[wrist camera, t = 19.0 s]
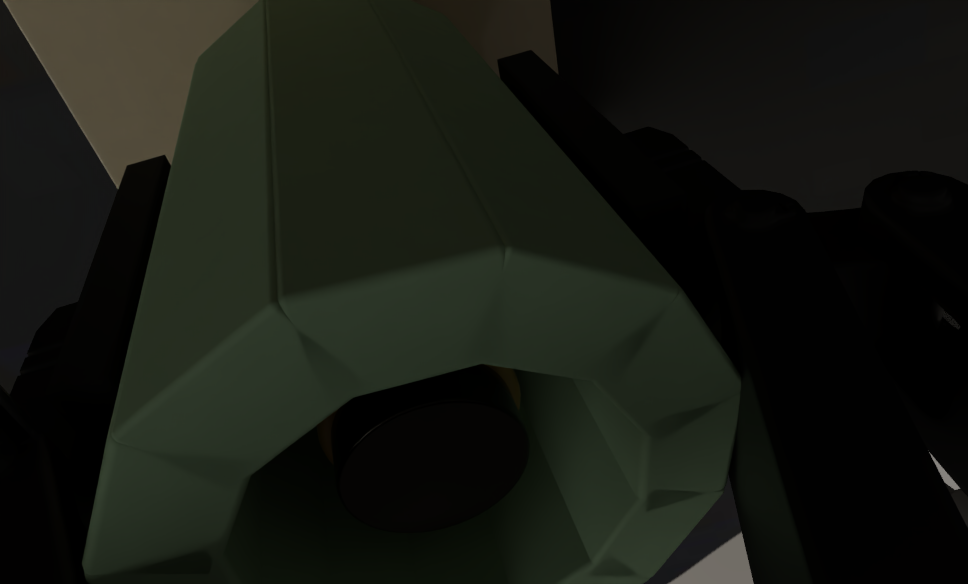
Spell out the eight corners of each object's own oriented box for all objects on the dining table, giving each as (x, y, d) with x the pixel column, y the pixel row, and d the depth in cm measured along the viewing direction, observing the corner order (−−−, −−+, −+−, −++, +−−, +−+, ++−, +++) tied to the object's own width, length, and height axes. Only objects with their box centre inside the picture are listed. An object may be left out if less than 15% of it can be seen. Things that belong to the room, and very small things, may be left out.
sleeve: (224, -77, 12) (162, 159, 4) (545, 54, 15) (859, 334, 7) (157, 242, 15) (49, 718, 7) (434, 297, 18) (570, 678, 10)
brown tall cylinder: (270, 65, 16) (287, 439, 7) (372, 36, 17) (527, 359, 7) (307, 159, 18) (362, 568, 8) (399, 132, 18) (555, 498, 9)
